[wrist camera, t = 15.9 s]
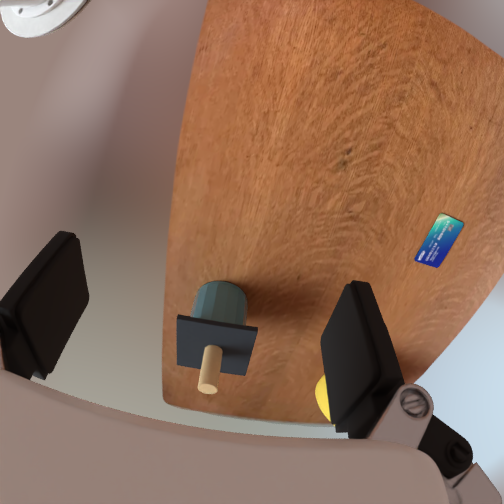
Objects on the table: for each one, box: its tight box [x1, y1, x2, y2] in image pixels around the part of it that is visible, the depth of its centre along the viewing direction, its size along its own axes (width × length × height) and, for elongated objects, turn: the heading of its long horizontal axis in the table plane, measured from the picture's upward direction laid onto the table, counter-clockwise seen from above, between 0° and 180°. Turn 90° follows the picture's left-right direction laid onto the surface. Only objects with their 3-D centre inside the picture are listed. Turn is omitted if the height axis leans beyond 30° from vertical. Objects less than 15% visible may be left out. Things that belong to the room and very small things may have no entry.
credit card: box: [415, 213, 463, 268], centre depth 41 cm, size 8×5×1 cm, turn 165°
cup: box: [190, 281, 248, 326], centre depth 45 cm, size 8×8×9 cm
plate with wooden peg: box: [177, 314, 258, 394], centre depth 38 cm, size 10×10×7 cm
